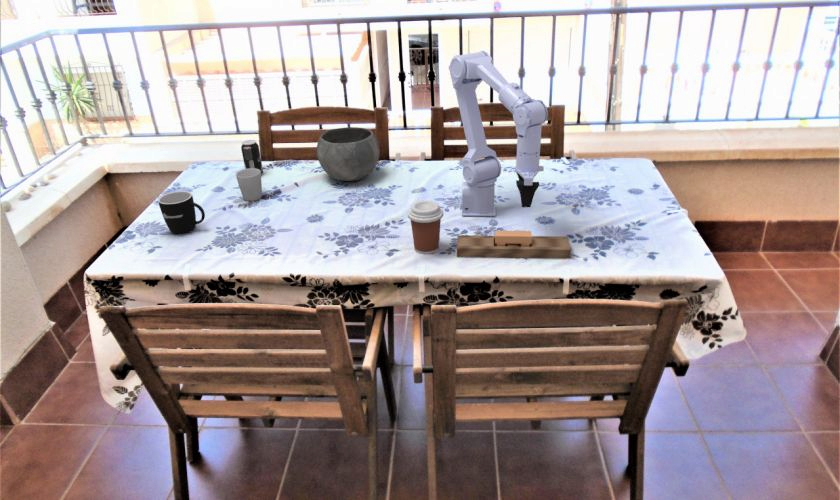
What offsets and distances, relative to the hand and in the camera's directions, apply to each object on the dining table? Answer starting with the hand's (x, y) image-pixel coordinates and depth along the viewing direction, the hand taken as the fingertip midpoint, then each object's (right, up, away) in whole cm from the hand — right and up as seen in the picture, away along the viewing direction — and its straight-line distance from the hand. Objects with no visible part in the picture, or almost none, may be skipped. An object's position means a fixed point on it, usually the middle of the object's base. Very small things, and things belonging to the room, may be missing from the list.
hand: (525, 200), depth 155 cm
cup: (-80, +4, +35) cm, 88 cm away
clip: (-4, -13, -3) cm, 14 cm away
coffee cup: (-26, -13, 0) cm, 29 cm away
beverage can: (-84, +13, +51) cm, 100 cm away
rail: (-4, -13, -3) cm, 14 cm away
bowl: (-51, +11, +46) cm, 69 cm away
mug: (-93, -7, +15) cm, 95 cm away
